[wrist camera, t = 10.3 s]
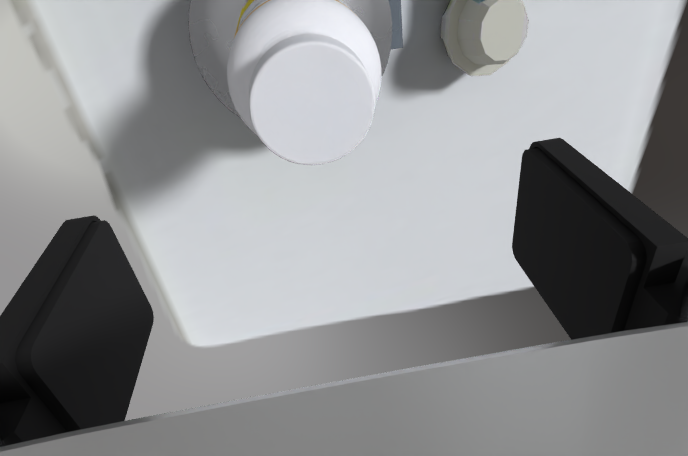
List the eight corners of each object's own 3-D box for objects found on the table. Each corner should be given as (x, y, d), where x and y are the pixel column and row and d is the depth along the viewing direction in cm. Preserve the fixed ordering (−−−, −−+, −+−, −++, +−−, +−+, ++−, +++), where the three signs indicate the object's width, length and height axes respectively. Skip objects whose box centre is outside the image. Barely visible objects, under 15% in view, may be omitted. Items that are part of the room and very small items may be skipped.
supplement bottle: (330, 102, 30) (364, 205, 20) (227, 72, 28) (204, 168, 18) (366, -7, 27) (430, 46, 16) (252, -49, 25) (241, -20, 14)
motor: (176, -68, 29) (157, -64, 24) (383, -99, 29) (403, -101, 24) (227, 116, 35) (220, 147, 31) (394, 89, 36) (412, 115, 31)
